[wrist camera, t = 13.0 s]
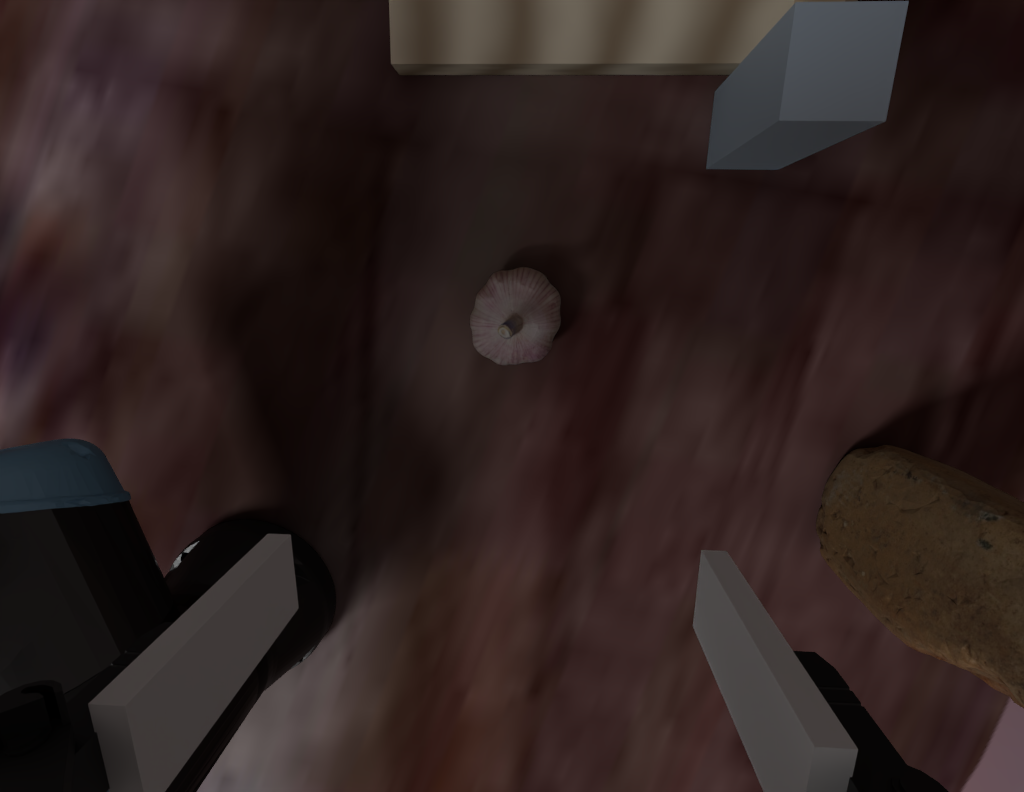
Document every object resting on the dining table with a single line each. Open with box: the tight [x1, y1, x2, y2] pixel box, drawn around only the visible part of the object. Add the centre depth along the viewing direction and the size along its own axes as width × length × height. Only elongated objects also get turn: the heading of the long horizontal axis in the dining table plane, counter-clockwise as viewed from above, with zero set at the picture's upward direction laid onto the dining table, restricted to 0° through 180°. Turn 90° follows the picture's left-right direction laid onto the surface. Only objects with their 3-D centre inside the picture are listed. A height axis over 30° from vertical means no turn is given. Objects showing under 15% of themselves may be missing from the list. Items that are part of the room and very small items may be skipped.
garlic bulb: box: [470, 267, 561, 365], centre depth 36 cm, size 8×7×8 cm
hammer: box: [706, 0, 909, 170], centre depth 28 cm, size 5×13×12 cm, turn 178°
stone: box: [816, 445, 1024, 708], centre depth 31 cm, size 11×8×20 cm
